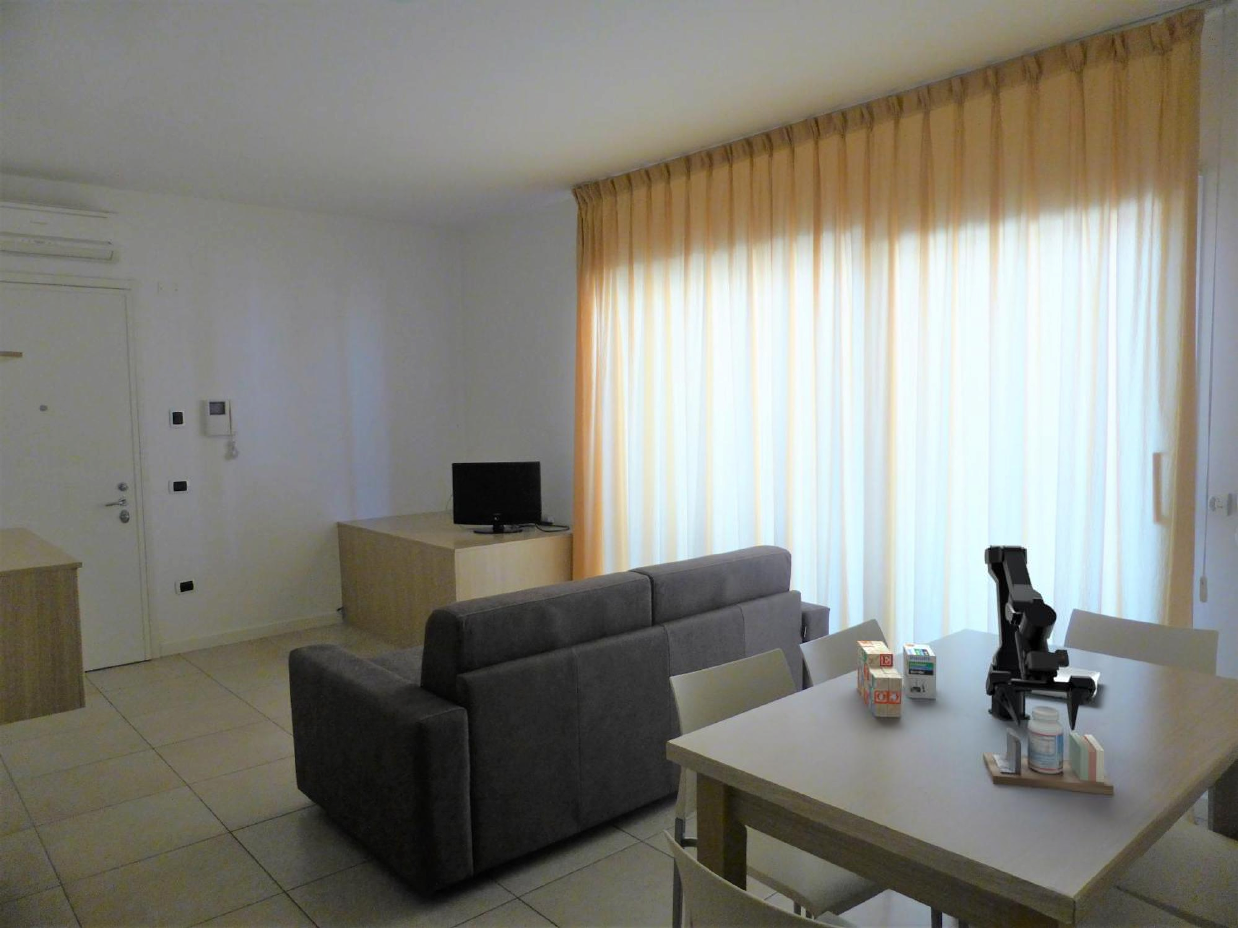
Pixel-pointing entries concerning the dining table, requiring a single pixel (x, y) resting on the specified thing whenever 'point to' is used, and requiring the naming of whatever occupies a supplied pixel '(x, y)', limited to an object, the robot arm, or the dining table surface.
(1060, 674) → the salad plate
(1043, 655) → the robot arm
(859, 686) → the stack of blocks
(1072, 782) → the shelf board
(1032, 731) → the pill bottle
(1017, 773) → the bookend
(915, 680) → the light bulb box
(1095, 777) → the row of books
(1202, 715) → the dining table surface
